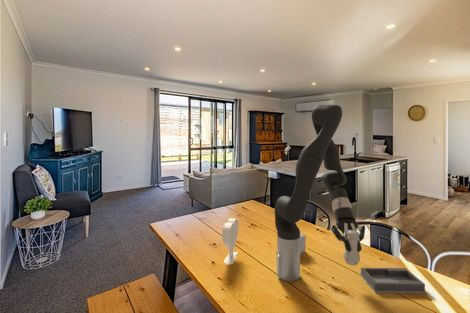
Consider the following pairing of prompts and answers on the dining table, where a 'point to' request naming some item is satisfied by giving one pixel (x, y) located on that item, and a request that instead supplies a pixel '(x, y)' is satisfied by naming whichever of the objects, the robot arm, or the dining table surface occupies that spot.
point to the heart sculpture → (230, 238)
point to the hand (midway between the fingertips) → (354, 251)
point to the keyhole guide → (392, 280)
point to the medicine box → (302, 243)
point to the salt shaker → (352, 248)
